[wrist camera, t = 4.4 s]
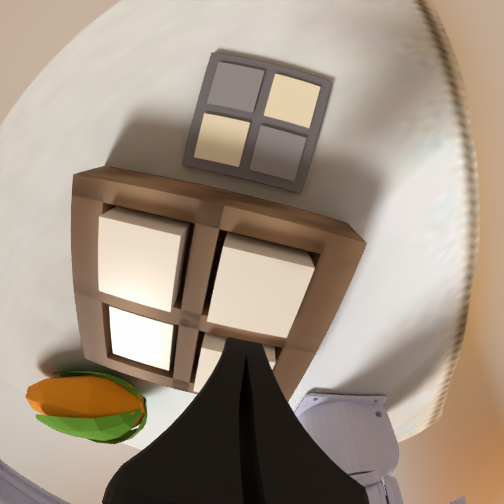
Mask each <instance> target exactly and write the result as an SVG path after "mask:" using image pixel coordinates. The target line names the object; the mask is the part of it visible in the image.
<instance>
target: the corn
mask: <svg viewBox="0 0 504 504" xmlns="http://www.w3.org/2000/svg"><path fill="white" fill-rule="evenodd" d="M54 374H57V375H60V376H64V377H62V378H51V379H45V380H42V381H40V382H38V383H36V384H34V385H32V386H30V387H28V390H27V394H26V399H27V400H28V402H29V404H30V405H31V407H32V408H33V409H34V410H36V411H38V412H40V413H41V414H43V415H38V414H37V415H36V418H37V419H38V420H39V421H41V422H43V423H44V424H46V425H48V426H49V427H51V428H53V429H54V430H56V431H59V432H62V433H65V434H68V435H71V436H75V437H82V438H87V439H89V440H92V441H94V442H99V443H109V444H116V443H119V442H122V441H125V440H128V439H131V438H133V437H134V436H135V435H136V434H137V433H138V432H139V431H140V430H142V429H143V427H144V425H145V424H146V420H147V406H146V398H145V397H143V396H142V395H141V394H140V392H139V390H138V388H136V387H135V386H133V385H132V384H130V383H129V382H127V381H125V380H123V379H120V378H118V377H115V376H113V375H110V374H108V373H100V372H93V371H69V372H56V373H54ZM69 376H72V377H69ZM139 424H140V426H139V428H137V429H134V430H131V429H132V428H134V427H136V426H138V425H139Z"/></svg>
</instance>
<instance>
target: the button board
mask: <svg viewBox="0 0 504 504" xmlns="http://www.w3.org/2000/svg"><path fill="white" fill-rule="evenodd" d="M116 206H118V207H123V208H127V209H131V210H136V211H140V212H145V213H149V214H153V215H158V216H162V217H166V218H171V219H175V220H179V221H184V222H188V223H190V229H189V234H188V240H187V246H186V252H185V258H184V264H183V271H182V277H181V284H180V291H179V295H178V297H177V299H176V301H175V303H174V306H173V308H172V310H171V312H167V311H164V310H160V309H157V308H153V307H150V306H146V305H143V304H139V303H136V302H133V301H129V300H126V299H123V298H120V297H116V296H113V295H110V294H107V293H104V292H101V291H99V284H98V230H99V216H101V215H102V214H104V213H106V212H107V211H109V210H111V209H113V208H114V207H116ZM227 232H230V233H234V234H238V235H242V236H246V237H251V238H255V239H259V240H263V241H267V242H271V243H275V244H279V245H283V246H287V247H291V248H295V249H299V250H303V251H307V252H308V253H309V255H310V258H311V260H312V262H313V265H314V267H315V269H314V272H313V274H312V277H311V280H310V282H309V285H308V287H307V290H306V292H305V295H304V297H303V300H302V302H301V305H300V307H299V310H298V312H297V315H296V317H295V319H294V322H293V324H292V327H291V329H290V331H289V334H288V336H287V338H283V337H278V336H273V335H267V334H262V333H257V332H252V331H247V330H242V329H238V328H233V327H228V326H224V325H220V324H215V323H211V322H207V318H208V313H209V308H210V304H211V299H212V294H213V290H214V285H215V281H216V276H217V271H218V267H219V262H220V258H221V254H222V249H223V245H224V242H225V239H226V235H227ZM366 244H367V243H366V242H365V241H364V240H363V239H362V238H361V237H360V236H359V235H358V234H357V233H356V232H355V231H354V230H353V229H352V228H351V227H350V226H349V225H348V224H347V223H345V222H342V221H338V220H335V219H332V218H328V217H325V216H321V215H318V214H314V213H311V212H307V211H304V210H300V209H296V208H293V207H289V206H285V205H282V204H278V203H274V202H270V201H266V200H262V199H259V198H255V197H251V196H247V195H242V194H238V193H234V192H230V191H226V190H221V189H217V188H213V187H208V186H204V185H199V184H195V183H190V182H186V181H181V180H176V179H171V178H166V177H161V176H156V175H151V174H146V173H140V172H135V171H129V170H124V169H118V168H112V167H106V166H102V167H99V168H95V169H91V170H87V171H84V172H80V173H77V174H73V185H72V202H71V254H72V272H73V284H74V294H75V303H76V311H77V318H78V325H79V331H80V336H81V342H82V347H83V352H84V357H85V359H88V360H90V361H92V362H95V363H97V364H100V365H103V366H105V367H108V368H111V369H113V370H116V371H119V372H122V373H125V374H128V375H131V376H134V377H137V378H140V379H143V380H146V381H149V382H153V383H156V384H160V385H163V386H167V387H170V388H174V389H178V390H182V391H186V392H190V393H194V394H198V393H199V392H194V391H193V390H194V384H195V379H196V373H197V368H198V363H199V358H200V353H201V348H202V343H203V339H204V335H205V332H208V333H212V334H216V335H221V336H225V337H231V338H236V339H241V340H246V341H252V342H257V343H262V344H265V345H270V346H275V359H276V363H275V365H274V367H273V370H272V371H273V373H274V376H275V378H276V380H277V382H278V384H279V386H280V388H281V390H282V392H283V394H284V396H285V398H286V400H287V402H288V401H289V399H290V398H291V396H292V394H293V393H294V391H295V389H296V388H297V386H298V384H299V383H300V381H301V379H302V377H303V376H304V374H305V372H306V370H307V368H308V367H309V365H310V363H311V361H312V359H313V358H314V356H315V354H316V352H317V350H318V348H319V346H320V344H321V343H322V341H323V339H324V337H325V335H326V333H327V331H328V329H329V327H330V325H331V323H332V321H333V319H334V317H335V315H336V313H337V310H338V308H339V306H340V304H341V302H342V300H343V298H344V296H345V293H346V291H347V289H348V287H349V284H350V282H351V280H352V278H353V275H354V273H355V271H356V268H357V266H358V264H359V261H360V259H361V256H362V254H363V251H364V249H365V246H366ZM110 305H112V306H115V307H118V308H121V309H124V310H127V311H131V312H134V313H137V314H140V315H144V316H147V317H151V318H154V319H158V320H161V321H165V322H168V323H172V324H176V325H178V331H177V340H176V349H175V354H174V357H173V360H172V363H171V366H170V369H169V371H168V370H165V369H161V368H158V367H154V366H151V365H148V364H144V363H141V362H138V361H135V360H132V359H129V358H126V357H123V356H120V355H117V354H114V353H113V349H112V339H111V326H110V310H109V306H110Z"/></svg>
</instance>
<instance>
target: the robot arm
mask: <svg viewBox="0 0 504 504" xmlns="http://www.w3.org/2000/svg"><path fill="white" fill-rule="evenodd" d="M387 400H388V399H387V397H386V396H354V395H332V394H318V393H308V394H307V395H306V396H305V397H304V399H303V400H302V402H301V403H300V405H299V406H298V408H297V409H296V411H295V412H293V410H292V409H291V407H290V405H289V403H288V402H287V400H286V398H285V396H284V394H283V392H282V390H281V388H280V386H279V384H278V382H277V380H276V378H275V376H274V373H273V371H272V369H271V366H270V364H269V361H268V358H267V356H266V353H265V350H264V346H263V345H262V343H257V342H252V341H246V340H241V339H236V338H231V337H229V338H227V339H226V341H225V345H224V349H223V352H222V354H221V356H220V359H219V361H218V363H217V365H216V366H215V368H214V370H213V372H212V374H211V375H210V377H209V379H208V380H207V381H206V383H205V384H204V386H203V387H202V389H201V390H200V392H199V393H198V395H197V396H196V397H195V398H194V400H193V401H192V402H191V404H190V405H189V406H188V407H187V408H186V410H185V411H184V412H183V413H182V414H181V415H180V416H179V417H178V418H177V419H176V420H175V422H174V423H173V424H172V425H171V426H170V427H169V428H168V429H167V430H166V431H164V432H163V433H162V434H161V435H160V436H159V437H158V438H157V439H155V440H154V441H153V442H152V443H151V444H150V445H148V446H147V447H146V448H145V449H143V450H142V451H141V452H139V453H138V454H137V455H135V456H134V457H132V458H131V459H130V460H128V461H127V462H125V463H124V464H123V465H122V466H121V467H120V468H119V470H118V471H117V472H116V473H115V475H114V476H113V478H112V479H111V480H110V482H109V484H108V486H107V488H106V490H105V493H104V497H103V500H102V503H103V504H403V501H402V497H401V493H400V489H399V486H398V483H397V480H396V478H395V477H393V476H390V475H391V474H392V473H393V471H394V469H395V468H396V466H397V463H398V459H399V447H398V442H397V440H396V437H395V434H394V431H393V428H392V425H391V422H390V420H389V417H388V414H387V411H386V409H385V406H384V404H385V402H386V401H387ZM382 480H384V482H385V485H384V486H385V490H386V495H385V491H384V487H383V483H382ZM0 504H70V503H68V502H66V501H64V500H62V499H60V498H58V497H57V496H55V495H53V494H51V493H49V492H48V491H46V490H44V489H43V488H41V487H39V486H38V485H36V484H34V483H33V482H31V481H30V480H28V479H27V478H25V477H24V476H22V475H20V474H19V473H18V472H16V471H15V470H13V469H12V468H11V467H9V466H8V465H7V464H5V463H4V462H3V461H1V460H0ZM449 504H467V503H466V501H465V497H464V496H462V497H460V498H458V499H457V500H454V501H453V502H450V503H449Z"/></svg>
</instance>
